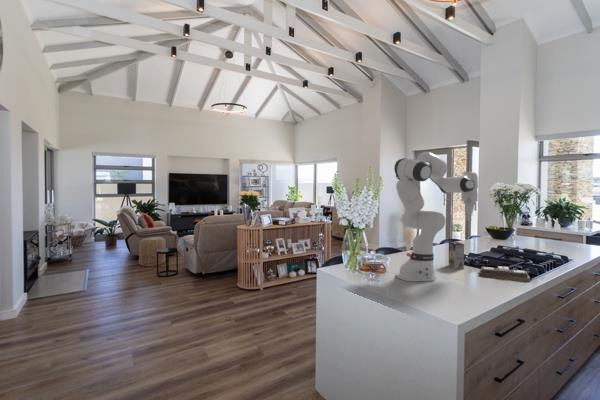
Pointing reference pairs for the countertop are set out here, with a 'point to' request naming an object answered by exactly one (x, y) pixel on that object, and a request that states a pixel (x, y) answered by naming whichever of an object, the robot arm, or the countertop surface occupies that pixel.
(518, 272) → the button two
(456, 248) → the coffee box
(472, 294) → the countertop surface
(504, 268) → the button one
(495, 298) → the countertop surface
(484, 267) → the button three
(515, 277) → the button board
